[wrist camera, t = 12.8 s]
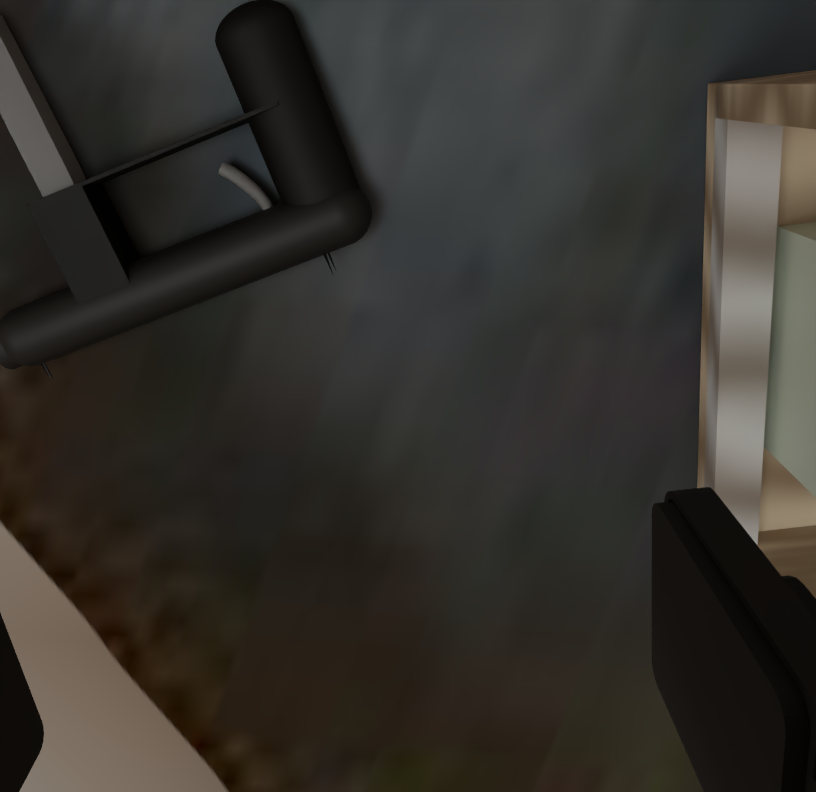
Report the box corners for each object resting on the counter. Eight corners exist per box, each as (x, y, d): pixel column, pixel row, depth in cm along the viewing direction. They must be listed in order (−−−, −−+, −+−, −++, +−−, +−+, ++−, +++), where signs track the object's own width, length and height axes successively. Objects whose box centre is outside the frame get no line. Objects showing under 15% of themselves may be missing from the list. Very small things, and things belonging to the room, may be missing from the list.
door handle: (-171, 76, 34) (14, 401, 39) (244, -112, 32) (388, 258, 36) (-122, 80, 37) (44, 381, 42) (260, -90, 35) (389, 248, 40)
